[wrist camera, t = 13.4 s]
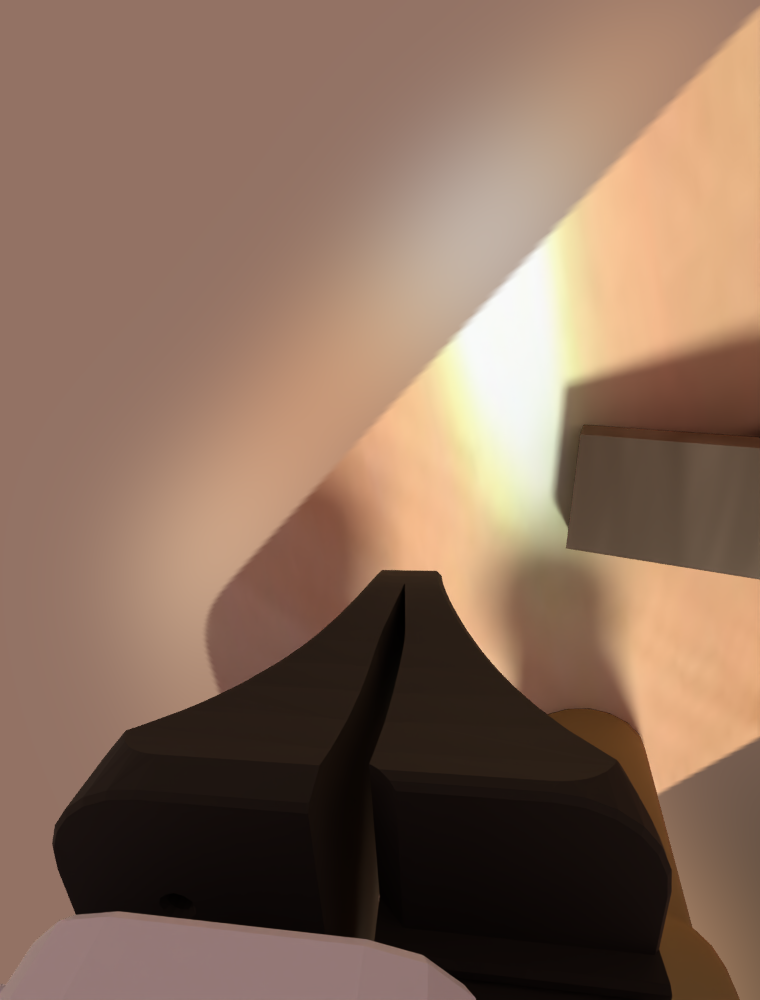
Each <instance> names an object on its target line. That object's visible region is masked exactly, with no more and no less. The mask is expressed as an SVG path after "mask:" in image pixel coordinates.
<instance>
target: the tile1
mask: <svg viewBox="0 0 760 1000" xmlns="http://www.w3.org/2000/svg"><path fill="white" fill-rule="evenodd" d="M566 548H568V549H574V550H580V551H586V552H593V553H599V554H605V555H611V556H618V557H624V558H630V559H636V560H642V561H649V562H655V563H661V564H667V565H673V566H680V567H686V568H692V569H698V570H704V571H711V572H717V573H723V574H729V575H735V576H742V577H748V578H754V579H760V437H747V436H733V435H719V434H705V433H691V432H676V431H662V430H648V429H634V428H620V427H606V426H592V425H584V426H583V428H582V431H581V434H580V441H579V449H578V457H577V465H576V473H575V481H574V489H573V497H572V505H571V513H570V521H569V529H568V537H567V545H566Z"/></svg>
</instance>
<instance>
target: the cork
mask: <svg viewBox="0 0 760 1000" xmlns="http://www.w3.org/2000/svg"><path fill="white" fill-rule="evenodd" d="M548 715H549V716H550V717H551V718H553V719H554V720H555V721H557V722H558V723H559V724H561V725H562V726H563V727H565V728H566V729H568V730H569V731H571V732H572V733H574V734H576V735H577V736H579V737H581V738H582V739H584V740H585V741H587V742H589V743H590V744H592V745H593V746H595V747H597V748H598V749H600V750H602V751H603V752H605V753H606V754H608V755H610V756H611V757H613V758H615V759H616V760H617V761H618V762H619V763H620V764H621V766H622V768H623V769H624V771H625V773H626V774H627V776H628V778H629V779H630V781H631V783H632V784H633V786H634V788H635V790H636V791H637V793H638V795H639V797H640V799H641V800H642V802H643V804H644V806H645V808H646V810H647V811H648V813H649V815H650V817H651V819H652V821H653V823H654V825H655V827H656V830H657V832H658V834H659V836H660V839H661V841H662V844H663V846H664V849H665V852H666V855H667V859H668V861H669V864H670V866H671V869H672V892H671V897H670V902H669V906H668V911H667V915H666V920H665V924H664V929H663V933H662V938H661V943H660V947H659V950H660V953H661V956H662V959H663V962H664V966H665V969H666V972H667V975H668V978H669V981H670V984H671V990H672V999H671V1000H740V999H739V997H738V994H737V992H736V989H735V987H734V985H733V983H732V980H731V978H730V976H729V973H728V971H727V969H726V967H725V965H724V964H723V962H722V961H721V959H720V958H719V956H718V954H717V953H716V951H715V950H714V948H713V947H712V946H711V945H710V944H709V943H708V942H707V941H706V940H705V939H704V938H703V937H702V936H701V935H700V934H699V933H698V932H697V931H696V930H694V929H693V928H692V924H691V921H690V917H689V913H688V909H687V905H686V902H685V898H684V894H683V890H682V887H681V883H680V879H679V875H678V871H677V868H676V864H675V860H674V856H673V853H672V849H671V845H670V842H669V837H668V834H667V830H666V827H665V822H664V819H663V815H662V811H661V807H660V804H659V800H658V796H657V792H656V788H655V785H654V781H653V777H652V773H651V770H650V766H649V762H648V758H647V754H646V751H645V748H644V746H643V743H642V741H641V738H640V736H639V735H638V734H637V732H636V731H635V730H634V729H633V728H632V727H631V726H630V725H629V724H628V723H627V722H625V721H623V720H621V719H619V718H617V717H615V716H614V715H612V714H610V713H605V712H601V711H597V710H592V709H567V710H563V711H559V712H556V713H552V714H548Z"/></svg>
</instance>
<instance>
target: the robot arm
mask: <svg viewBox="0 0 760 1000" xmlns="http://www.w3.org/2000/svg"><path fill="white" fill-rule="evenodd" d="M52 844H53V850H54V854H55V859H56V863H57V867H58V871H59V873H60V876H61V878H62V881H63V883H64V886H65V888H66V891H67V893H68V896H69V898H70V901H71V903H72V906H73V908H74V911H75V914H76V915H73V916H71V917H68V918H65V919H62V920H59V921H58V922H57V923H56V924H55V925H53V926H52V927H51V928H50V929H49V930H48V931H46V932H45V933H44V934H43V935H42V936H41V937H39V938H38V939H37V940H36V941H35V942H34V943H33V944H32V946H31V947H30V949H29V950H28V952H27V953H26V955H25V956H24V958H23V959H22V961H21V962H20V964H19V966H18V967H17V968H16V970H15V972H14V973H13V975H12V976H11V978H10V979H9V981H8V982H7V984H6V985H5V984H0V1000H671V999H672V990H671V984H670V981H669V978H668V975H667V972H666V969H665V966H664V962H663V959H662V956H661V953H660V950H659V947H660V943H661V938H662V933H663V929H664V924H665V920H666V915H667V911H668V906H669V902H670V897H671V892H672V869H671V866H670V864H669V861H668V859H667V855H666V852H665V849H664V846H663V844H662V841H661V839H660V836H659V834H658V832H657V830H656V827H655V825H654V823H653V821H652V819H651V817H650V815H649V813H648V811H647V810H646V808H645V806H644V804H643V802H642V800H641V799H640V797H639V795H638V793H637V791H636V790H635V788H634V786H633V784H632V783H631V781H630V779H629V778H628V776H627V774H626V773H625V771H624V769H623V768H622V766H621V764H620V763H619V762H618V761H617V760H616V759H615V758H613V757H611V756H610V755H608V754H606V753H605V752H603V751H602V750H600V749H598V748H597V747H595V746H593V745H592V744H590V743H589V742H587V741H585V740H584V739H582V738H581V737H579V736H577V735H576V734H574V733H572V732H571V731H569V730H568V729H566V728H565V727H563V726H562V725H561V724H559V723H558V722H557V721H555V720H554V719H553V718H551V717H550V716H549V715H547V714H546V713H545V712H543V711H542V710H540V709H539V708H538V707H537V706H536V705H534V704H533V703H532V702H531V701H530V700H529V699H528V698H526V697H525V696H524V695H523V694H522V693H521V692H520V691H519V690H517V689H516V688H515V687H514V686H513V685H512V684H511V683H510V682H509V681H508V680H507V679H506V678H505V677H504V676H503V675H502V674H501V673H500V672H499V671H498V669H497V668H496V667H495V666H494V665H493V664H492V663H491V662H490V660H489V659H488V658H487V657H486V656H485V654H484V653H483V652H482V651H481V649H480V648H479V647H478V645H477V644H476V643H475V641H474V640H473V638H472V637H471V635H470V634H469V633H468V631H467V630H466V628H465V626H464V625H463V623H462V622H461V620H460V618H459V616H458V615H457V613H456V611H455V609H454V608H453V606H452V604H451V602H450V600H449V598H448V595H447V593H446V591H445V588H444V585H443V582H442V576H441V575H440V574H439V573H438V572H437V571H400V570H382V571H381V572H380V573H379V574H378V575H377V576H376V577H375V578H374V579H373V580H372V581H371V582H370V583H369V584H368V586H367V587H366V588H365V589H364V590H363V591H362V592H361V593H360V594H359V595H358V596H357V598H356V599H355V600H354V601H353V602H352V603H351V604H350V605H349V606H348V607H347V608H346V609H345V610H344V611H343V612H342V613H341V614H340V615H339V616H338V617H337V618H335V619H334V620H333V621H332V622H331V623H330V624H329V625H328V626H326V627H325V628H324V629H323V630H322V631H321V632H320V633H319V634H317V635H316V636H315V637H314V638H312V639H311V640H310V641H308V642H307V643H306V644H305V645H303V646H302V647H300V648H299V649H297V650H296V651H295V652H293V653H292V654H290V655H289V656H287V657H286V658H284V659H283V660H281V661H280V662H278V663H276V664H275V665H273V666H271V667H270V668H268V669H266V670H264V671H263V672H261V673H259V674H257V675H256V676H254V677H252V678H251V679H249V680H247V681H245V682H244V683H242V684H240V685H238V686H236V687H234V688H232V689H230V690H228V691H226V692H223V693H221V694H219V695H217V696H215V697H213V698H210V699H208V700H206V701H204V702H201V703H199V704H197V705H195V706H192V707H190V708H187V709H185V710H182V711H180V712H177V713H174V714H171V715H169V716H166V717H163V718H161V719H158V720H155V721H152V722H149V723H147V724H144V725H141V726H138V727H136V728H132V729H130V730H126V731H125V732H124V734H123V735H122V736H121V737H120V739H119V740H118V741H117V742H116V743H115V745H114V746H113V747H112V748H111V750H110V751H109V752H108V753H107V755H106V756H105V757H104V758H103V760H102V761H101V763H100V764H99V765H98V766H97V768H96V769H95V771H94V772H93V773H92V774H91V776H90V777H89V778H88V780H87V781H86V782H85V784H84V785H83V786H82V788H81V789H80V791H79V792H78V793H77V794H76V796H75V797H74V798H73V800H72V801H71V802H70V804H69V805H68V806H67V808H66V809H65V811H64V812H63V814H62V815H61V817H60V818H59V820H58V821H57V823H56V824H55V829H54V836H53V843H52Z"/></svg>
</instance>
